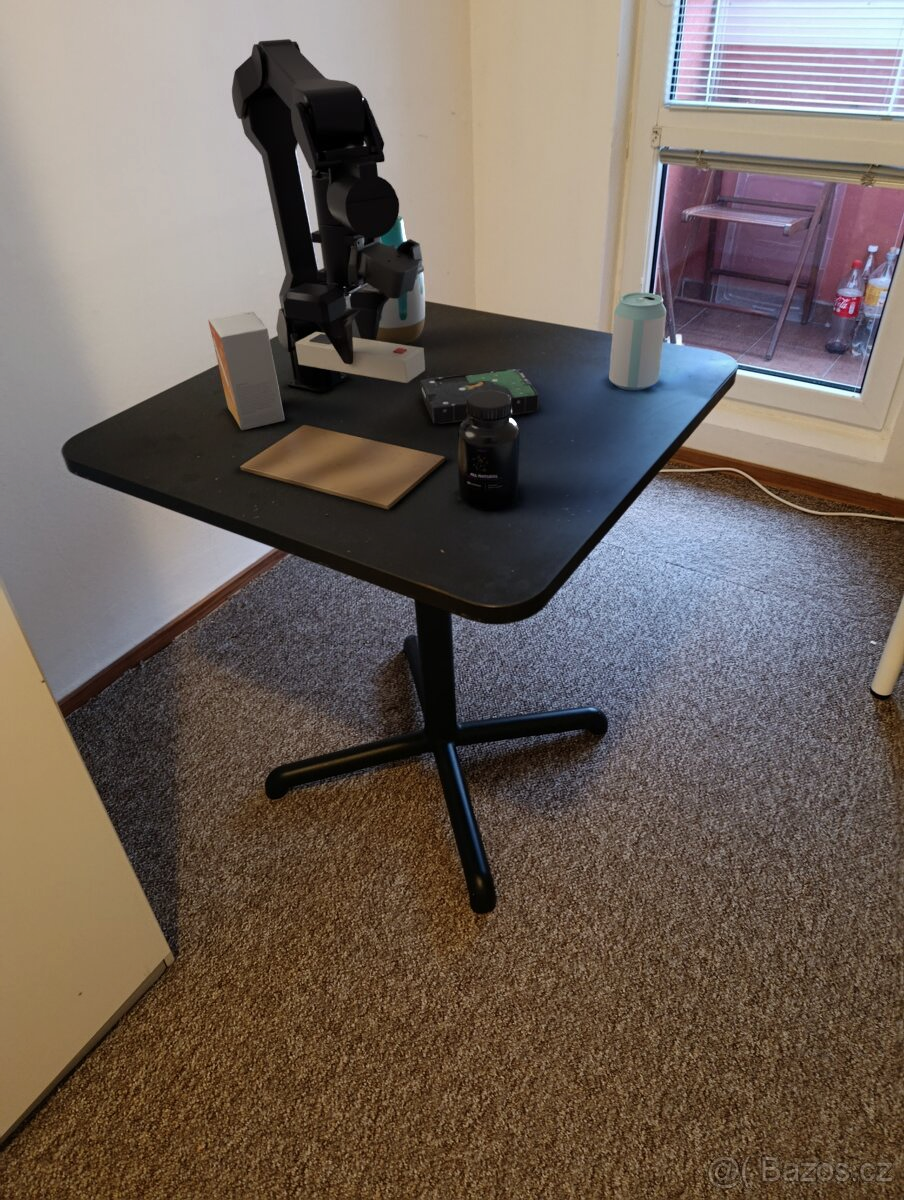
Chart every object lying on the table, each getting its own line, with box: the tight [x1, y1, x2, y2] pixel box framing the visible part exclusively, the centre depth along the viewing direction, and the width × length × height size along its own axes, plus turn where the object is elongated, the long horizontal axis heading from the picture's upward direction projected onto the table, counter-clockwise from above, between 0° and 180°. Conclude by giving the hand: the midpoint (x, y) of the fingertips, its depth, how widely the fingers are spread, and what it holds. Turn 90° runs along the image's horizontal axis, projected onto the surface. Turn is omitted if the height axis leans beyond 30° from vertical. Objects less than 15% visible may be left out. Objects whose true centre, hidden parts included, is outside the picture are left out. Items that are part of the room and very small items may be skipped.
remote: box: [295, 332, 426, 384], centre depth 99 cm, size 16×4×3 cm, turn 61°
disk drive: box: [420, 368, 540, 425], centre depth 112 cm, size 10×3×15 cm
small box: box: [207, 311, 286, 431], centre depth 109 cm, size 8×6×13 cm
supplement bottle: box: [457, 391, 521, 511], centre depth 89 cm, size 7×7×12 cm
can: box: [608, 291, 667, 391], centre depth 113 cm, size 7×7×12 cm
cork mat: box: [239, 424, 446, 510], centre depth 100 cm, size 22×13×1 cm, turn 61°
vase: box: [376, 215, 426, 345], centre depth 128 cm, size 11×11×19 cm
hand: (359, 357), depth 99 cm, fingers closed on remote, 4 cm apart
